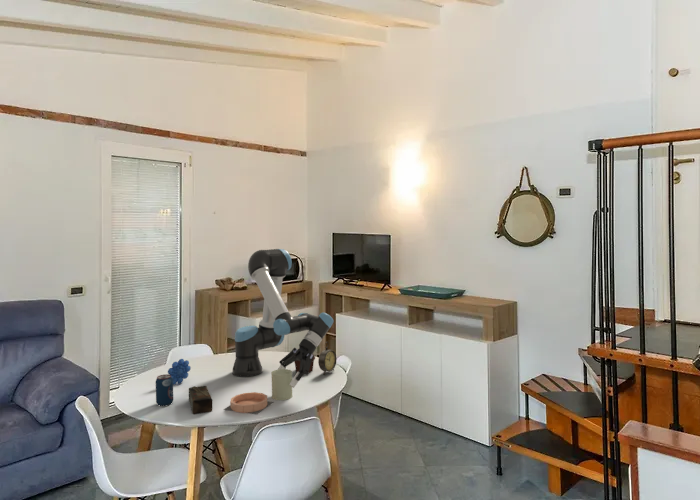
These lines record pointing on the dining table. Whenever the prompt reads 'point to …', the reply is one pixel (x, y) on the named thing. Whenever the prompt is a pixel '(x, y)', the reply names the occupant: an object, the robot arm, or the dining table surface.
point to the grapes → (179, 371)
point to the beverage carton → (200, 399)
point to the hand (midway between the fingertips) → (282, 382)
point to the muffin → (297, 365)
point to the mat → (252, 412)
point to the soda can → (164, 390)
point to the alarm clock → (327, 360)
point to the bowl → (248, 402)
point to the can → (281, 384)
